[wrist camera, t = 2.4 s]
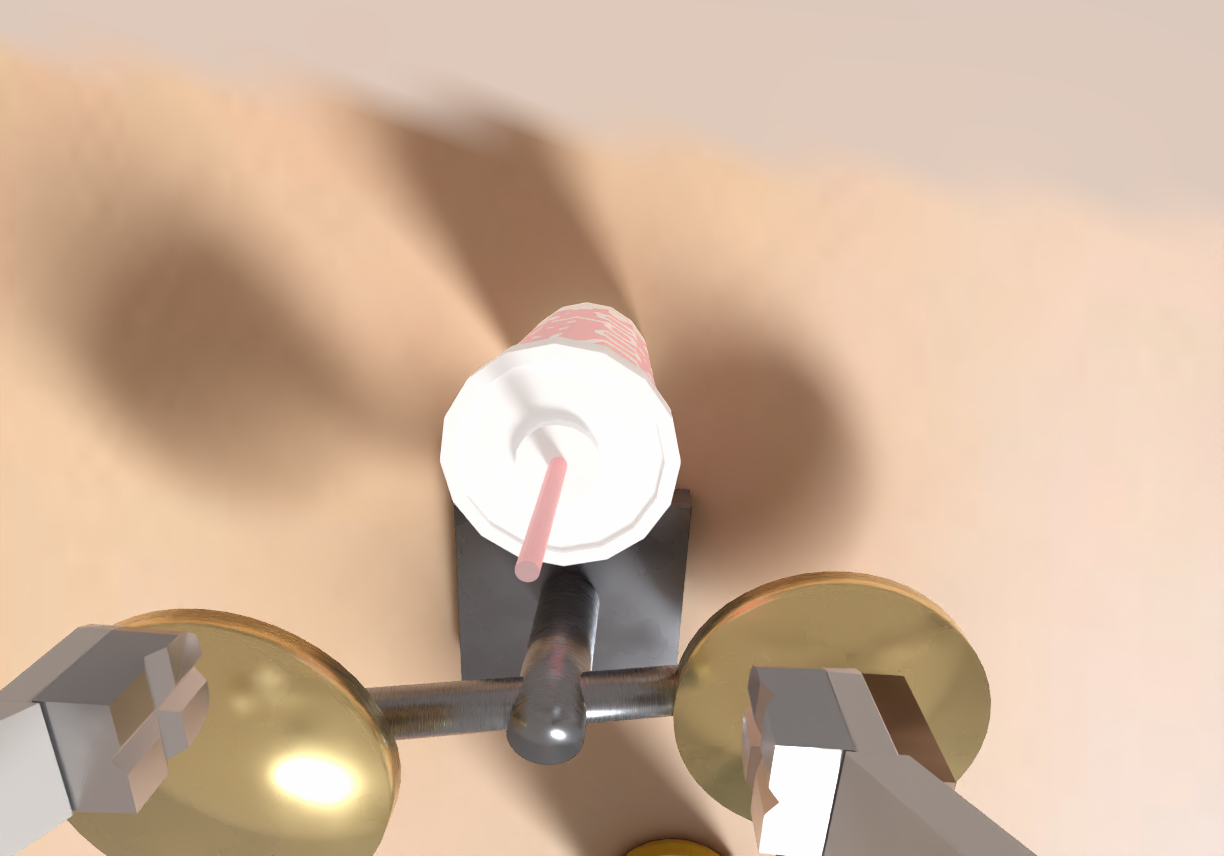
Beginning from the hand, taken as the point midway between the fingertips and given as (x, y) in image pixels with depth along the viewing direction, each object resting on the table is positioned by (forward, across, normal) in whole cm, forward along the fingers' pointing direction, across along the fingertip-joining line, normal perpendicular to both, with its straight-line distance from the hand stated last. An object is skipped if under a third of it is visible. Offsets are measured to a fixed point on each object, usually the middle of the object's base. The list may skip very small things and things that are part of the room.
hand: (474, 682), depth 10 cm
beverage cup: (+17, -1, 0) cm, 17 cm away
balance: (+17, 0, +9) cm, 19 cm away
